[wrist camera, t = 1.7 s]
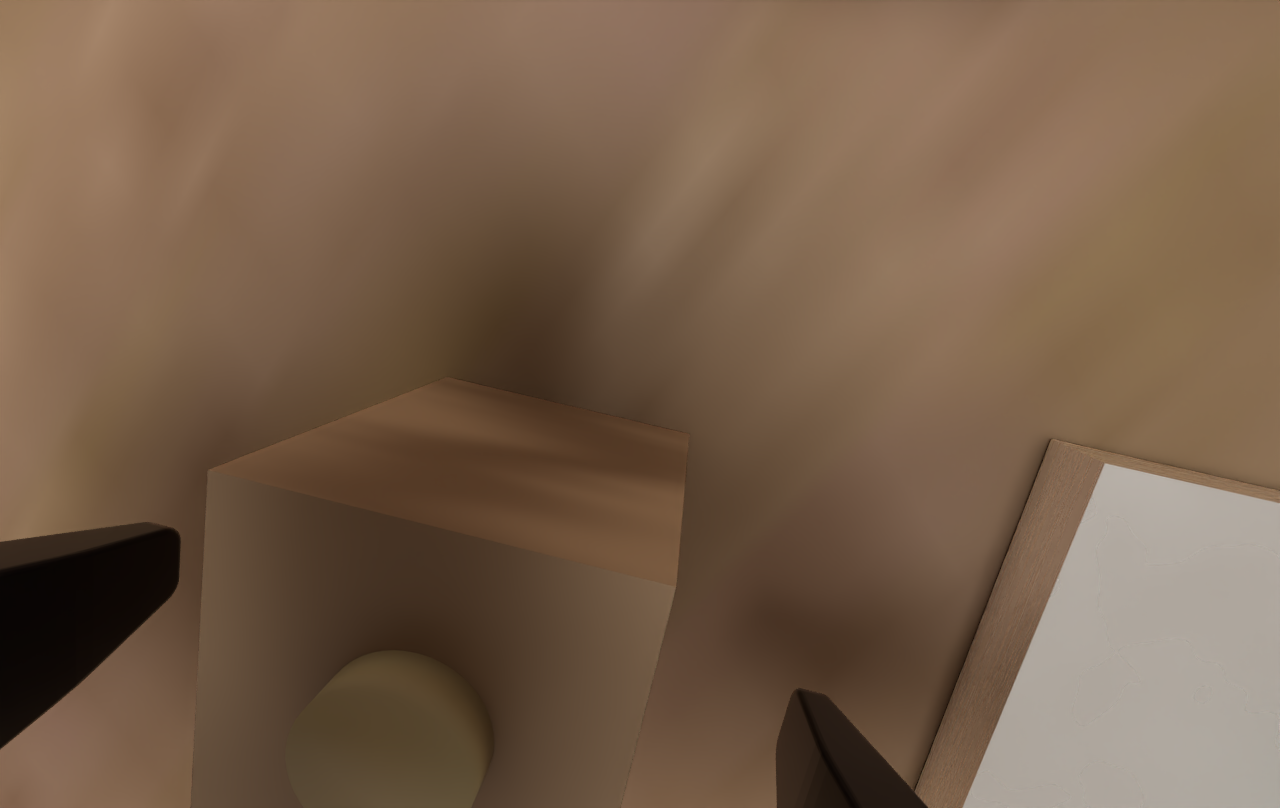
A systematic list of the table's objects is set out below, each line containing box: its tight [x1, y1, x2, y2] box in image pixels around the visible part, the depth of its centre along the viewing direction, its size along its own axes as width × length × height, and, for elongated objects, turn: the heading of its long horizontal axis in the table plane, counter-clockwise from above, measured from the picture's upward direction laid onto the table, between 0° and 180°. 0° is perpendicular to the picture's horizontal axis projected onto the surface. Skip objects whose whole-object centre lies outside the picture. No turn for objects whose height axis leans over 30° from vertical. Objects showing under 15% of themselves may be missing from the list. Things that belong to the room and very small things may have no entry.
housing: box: [191, 377, 689, 808], centre depth 9 cm, size 5×5×7 cm
